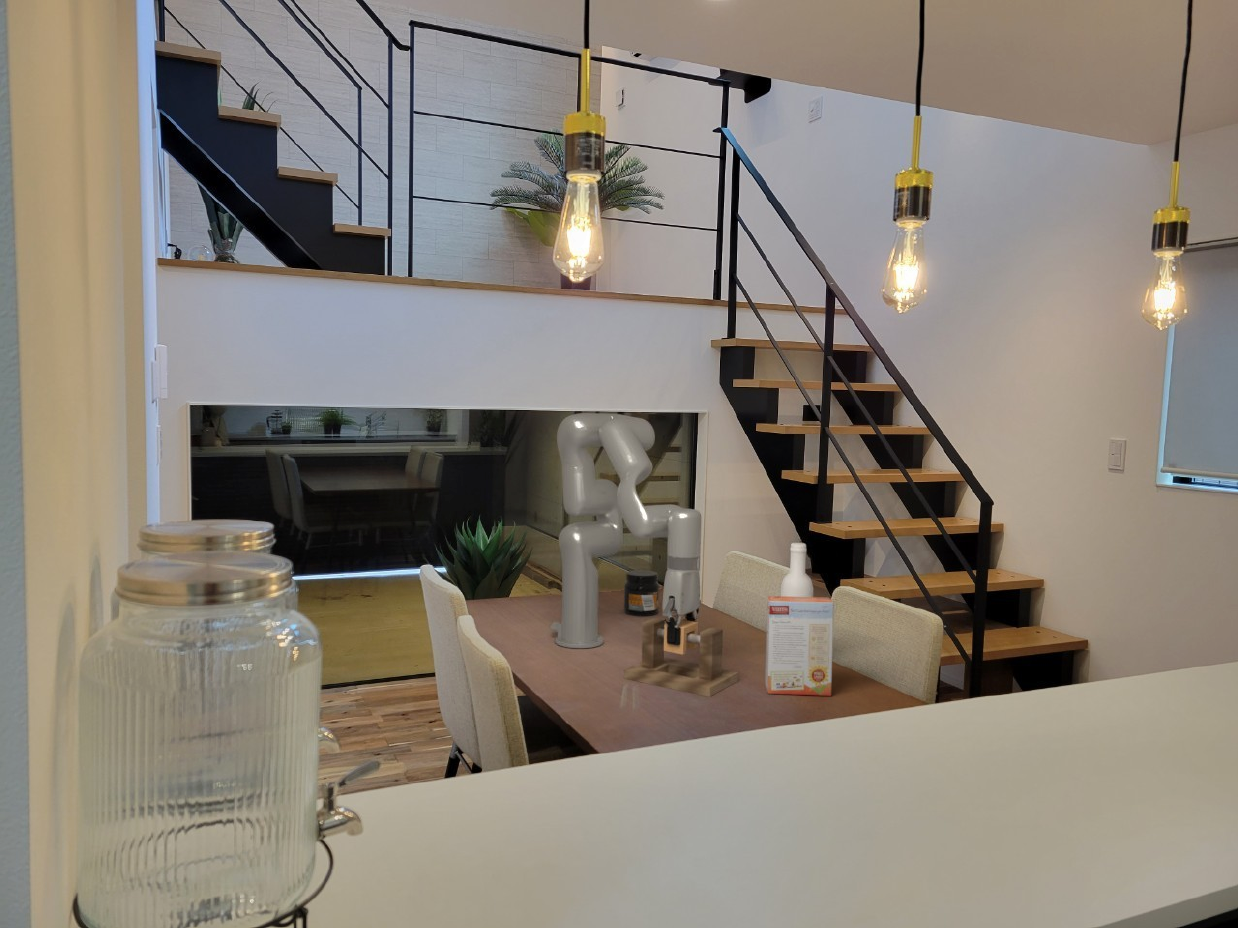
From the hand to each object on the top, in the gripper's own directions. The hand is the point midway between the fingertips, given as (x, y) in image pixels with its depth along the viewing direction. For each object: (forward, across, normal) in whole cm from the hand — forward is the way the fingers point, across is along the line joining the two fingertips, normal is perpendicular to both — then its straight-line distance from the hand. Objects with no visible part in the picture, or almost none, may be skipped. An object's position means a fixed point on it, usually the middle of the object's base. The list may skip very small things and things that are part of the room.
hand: (681, 640), depth 208 cm
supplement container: (+10, -51, -42) cm, 67 cm away
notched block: (+2, 0, 0) cm, 2 cm away
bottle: (+9, -26, +17) cm, 33 cm away
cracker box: (+9, -8, +25) cm, 28 cm away
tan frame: (+9, 0, 0) cm, 9 cm away
